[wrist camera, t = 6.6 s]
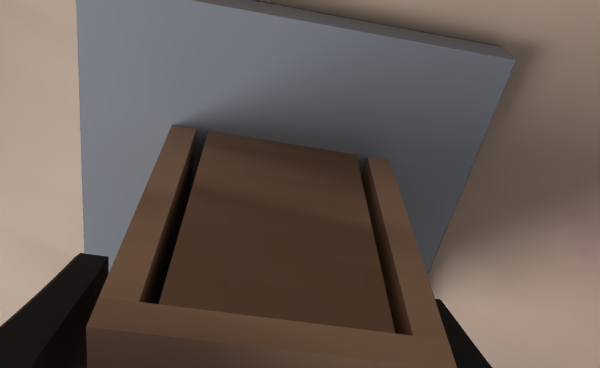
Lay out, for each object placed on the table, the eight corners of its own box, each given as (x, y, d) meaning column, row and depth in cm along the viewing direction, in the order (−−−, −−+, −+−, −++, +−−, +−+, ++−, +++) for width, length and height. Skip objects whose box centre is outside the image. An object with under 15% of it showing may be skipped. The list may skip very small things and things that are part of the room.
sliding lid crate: (340, 313, 17) (366, 545, 11) (160, 290, 16) (91, 524, 11) (389, 160, 14) (458, 369, 8) (171, 124, 13) (85, 326, 8)
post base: (376, 363, 20) (401, 505, 15) (97, 331, 18) (39, 476, 14) (501, 47, 13) (600, 138, 9) (90, -31, 12) (-16, 34, 8)
